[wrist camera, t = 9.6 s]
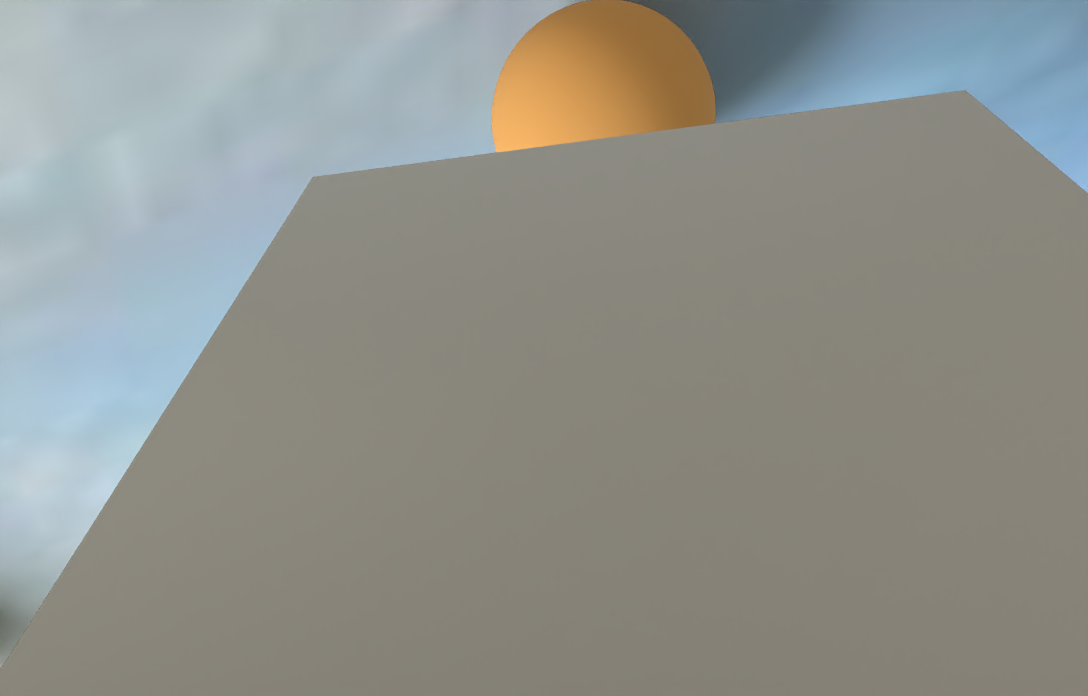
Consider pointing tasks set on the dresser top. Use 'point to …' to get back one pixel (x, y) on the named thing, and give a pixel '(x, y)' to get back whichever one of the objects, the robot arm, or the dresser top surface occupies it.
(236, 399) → the white cube
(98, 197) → the dresser top surface
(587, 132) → the ball
